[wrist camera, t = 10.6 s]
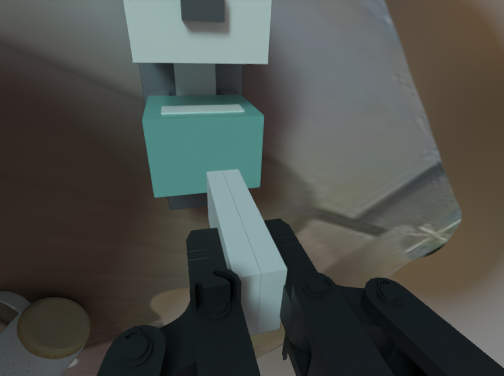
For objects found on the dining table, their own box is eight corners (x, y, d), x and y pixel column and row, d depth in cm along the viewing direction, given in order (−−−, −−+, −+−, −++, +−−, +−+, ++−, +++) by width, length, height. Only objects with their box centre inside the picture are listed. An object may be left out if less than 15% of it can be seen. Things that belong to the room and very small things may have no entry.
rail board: (237, 181, 30) (265, 242, 21) (159, 188, 28) (155, 259, 19) (240, -48, 20) (293, -101, 12) (122, -62, 18) (84, -135, 10)
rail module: (235, 145, 26) (259, 187, 19) (157, 150, 24) (154, 197, 18) (236, 88, 24) (264, 114, 17) (149, 89, 22) (141, 118, 15)
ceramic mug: (102, 303, 33) (85, 369, 27) (66, 343, 35) (42, 415, 28) (0, 270, 28) (-51, 343, 22) (-36, 320, 30) (-94, 401, 23)
